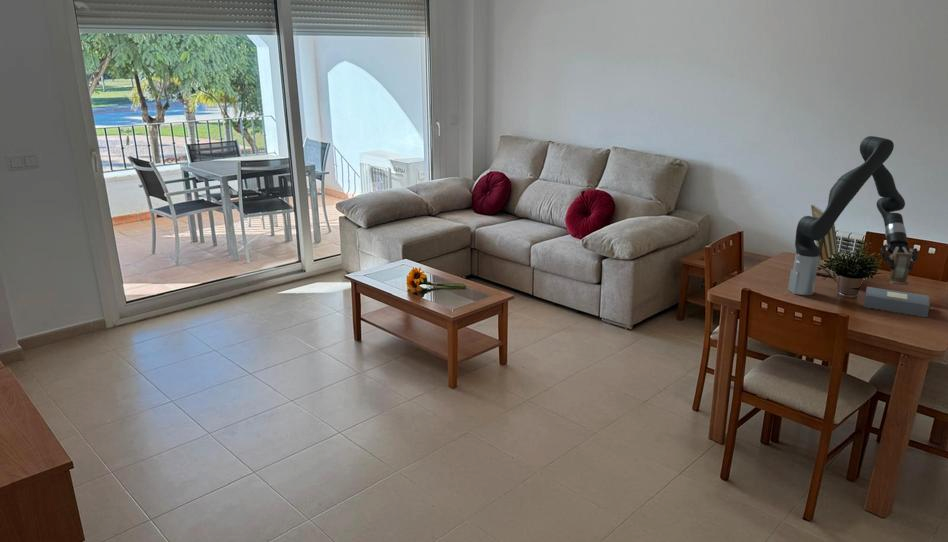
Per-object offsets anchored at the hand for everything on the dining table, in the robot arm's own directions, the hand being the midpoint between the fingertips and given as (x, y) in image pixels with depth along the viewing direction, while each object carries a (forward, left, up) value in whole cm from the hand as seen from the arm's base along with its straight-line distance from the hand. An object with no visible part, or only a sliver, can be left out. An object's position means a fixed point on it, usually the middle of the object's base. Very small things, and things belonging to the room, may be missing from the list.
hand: (901, 269), depth 285 cm
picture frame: (-15, +35, -13) cm, 40 cm away
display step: (-7, -11, -13) cm, 18 cm away
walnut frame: (0, +2, -6) cm, 7 cm away
